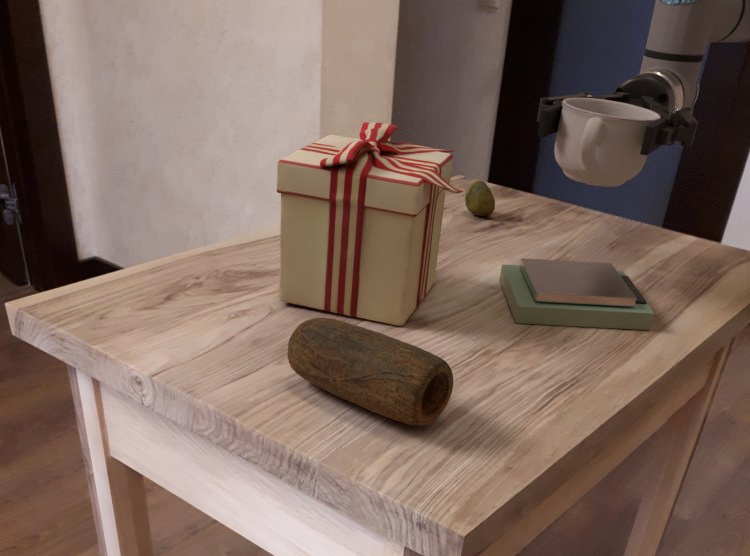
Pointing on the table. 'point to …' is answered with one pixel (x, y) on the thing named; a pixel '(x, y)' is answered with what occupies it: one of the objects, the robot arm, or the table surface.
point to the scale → (571, 307)
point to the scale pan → (576, 282)
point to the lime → (480, 199)
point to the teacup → (601, 140)
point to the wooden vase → (371, 370)
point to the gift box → (362, 223)
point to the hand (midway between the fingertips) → (593, 132)
